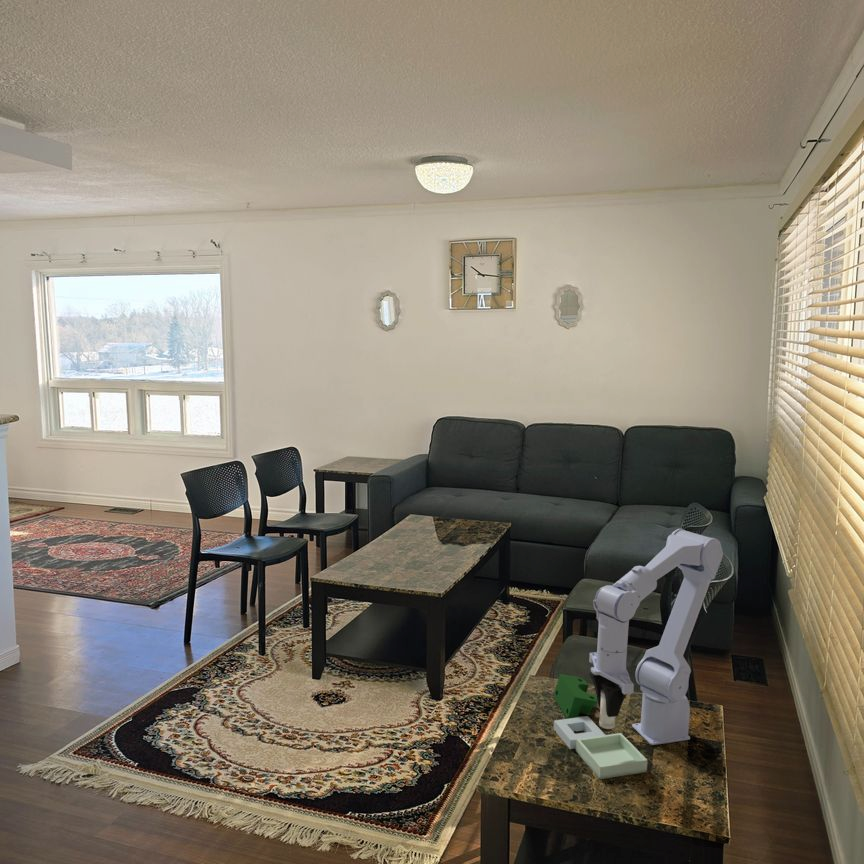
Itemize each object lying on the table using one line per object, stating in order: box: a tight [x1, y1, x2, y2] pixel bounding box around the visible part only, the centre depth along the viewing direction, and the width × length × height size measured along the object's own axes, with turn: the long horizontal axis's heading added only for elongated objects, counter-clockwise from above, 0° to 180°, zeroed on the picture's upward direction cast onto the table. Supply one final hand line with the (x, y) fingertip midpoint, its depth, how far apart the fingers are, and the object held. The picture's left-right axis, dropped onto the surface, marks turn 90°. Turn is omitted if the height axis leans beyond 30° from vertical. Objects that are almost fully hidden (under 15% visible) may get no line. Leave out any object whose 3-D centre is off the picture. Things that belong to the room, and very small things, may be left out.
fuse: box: [598, 689, 616, 730], centre depth 155 cm, size 3×3×7 cm
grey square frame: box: [553, 715, 606, 750], centre depth 164 cm, size 8×8×2 cm
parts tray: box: [575, 732, 648, 780], centre depth 155 cm, size 10×10×2 cm
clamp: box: [553, 673, 598, 719], centre depth 175 cm, size 12×6×9 cm, turn 0°
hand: (608, 711), depth 155 cm, fingers closed on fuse, 3 cm apart
